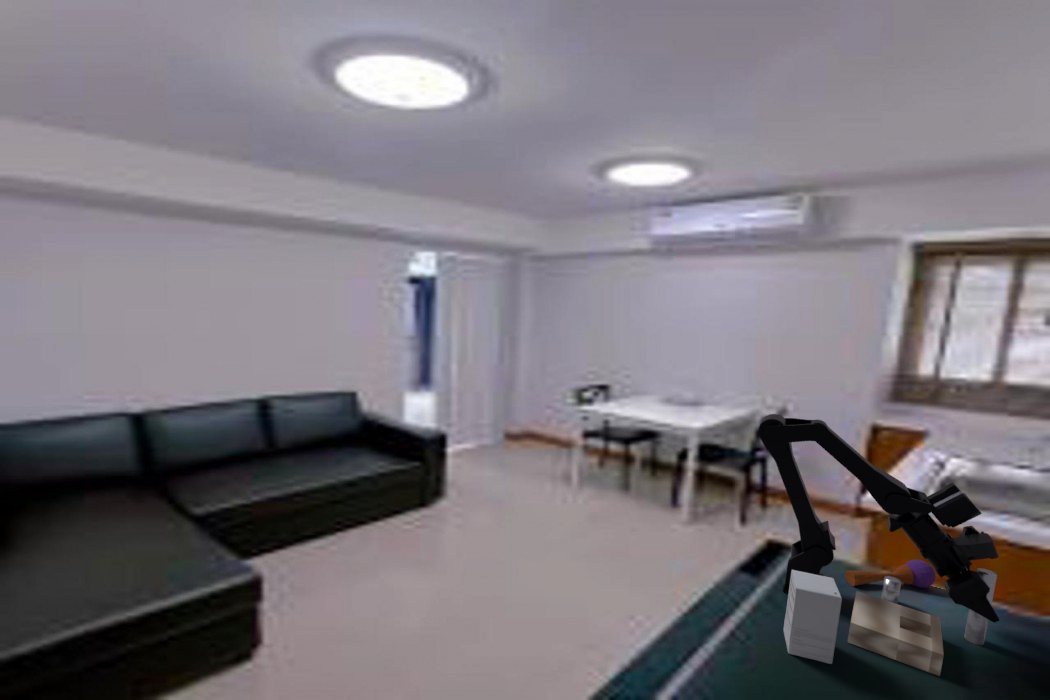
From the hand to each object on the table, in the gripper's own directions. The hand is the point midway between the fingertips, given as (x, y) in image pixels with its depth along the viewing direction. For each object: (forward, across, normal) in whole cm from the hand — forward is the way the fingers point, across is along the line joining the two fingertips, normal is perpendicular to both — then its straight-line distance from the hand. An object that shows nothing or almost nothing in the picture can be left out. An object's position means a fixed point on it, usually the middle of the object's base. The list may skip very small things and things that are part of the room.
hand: (989, 608), depth 107 cm
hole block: (-6, -9, +16) cm, 20 cm away
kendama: (-4, +16, +15) cm, 22 cm away
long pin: (+4, 0, +6) cm, 7 cm away
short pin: (-5, +7, +15) cm, 18 cm away
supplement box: (-16, -21, +27) cm, 38 cm away
